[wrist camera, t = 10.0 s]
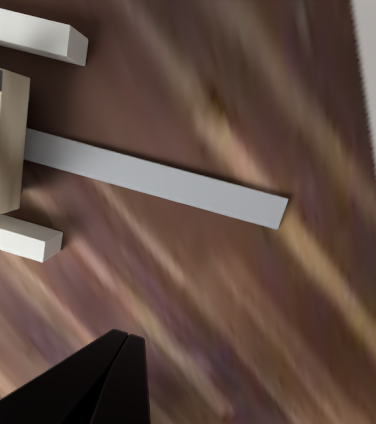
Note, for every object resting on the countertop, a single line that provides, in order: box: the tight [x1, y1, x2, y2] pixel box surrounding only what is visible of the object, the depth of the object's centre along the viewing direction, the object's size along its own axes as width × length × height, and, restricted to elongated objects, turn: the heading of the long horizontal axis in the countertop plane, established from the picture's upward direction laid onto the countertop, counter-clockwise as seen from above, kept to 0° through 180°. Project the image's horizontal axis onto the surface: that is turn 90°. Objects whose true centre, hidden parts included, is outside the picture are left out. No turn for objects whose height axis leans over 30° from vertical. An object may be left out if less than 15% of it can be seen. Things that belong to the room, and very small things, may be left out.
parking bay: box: [0, 8, 288, 262], centre depth 17 cm, size 14×29×3 cm, turn 76°
